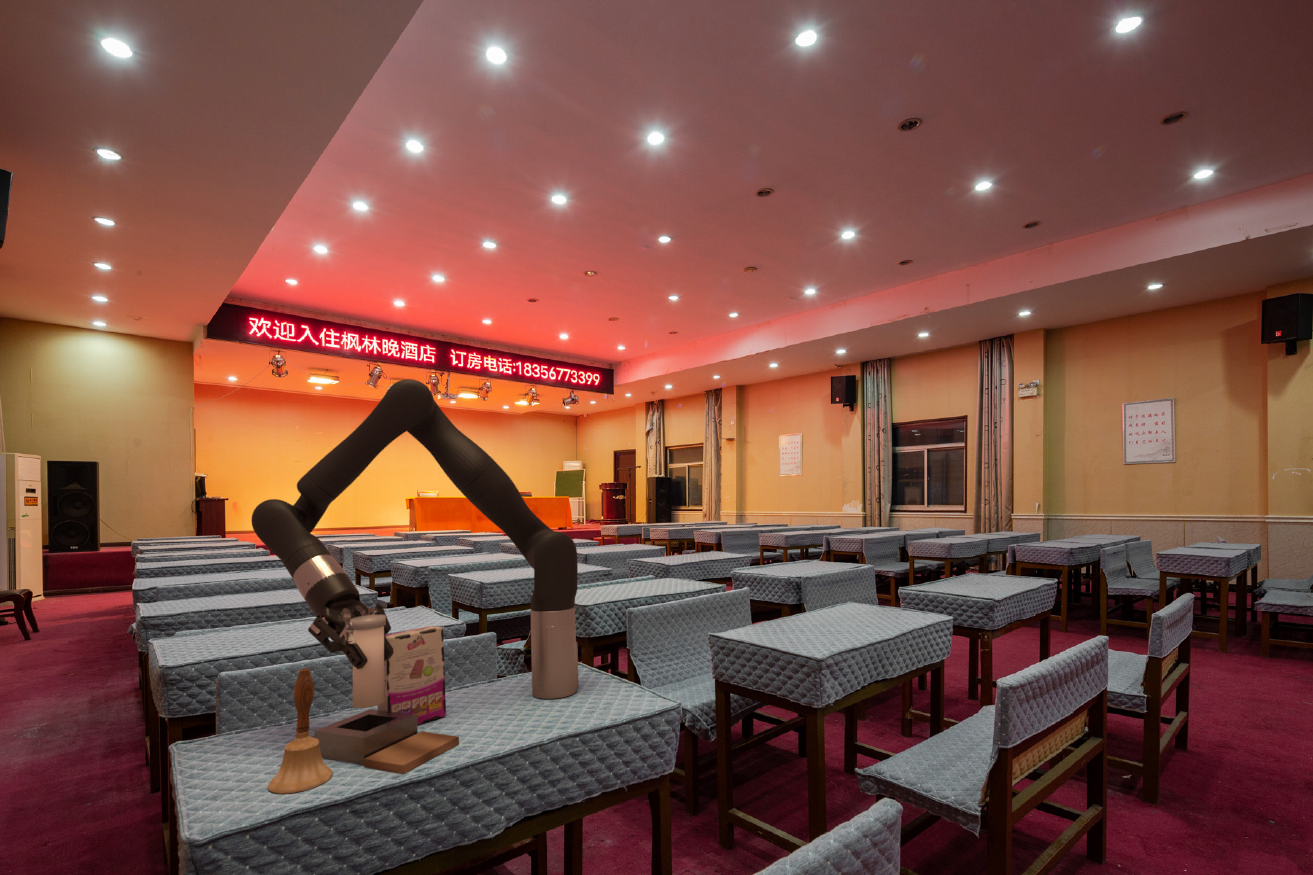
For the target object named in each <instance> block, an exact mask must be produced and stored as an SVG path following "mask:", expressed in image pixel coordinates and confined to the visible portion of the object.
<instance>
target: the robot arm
mask: <svg viewBox="0 0 1313 875" xmlns="http://www.w3.org/2000/svg"><path fill="white" fill-rule="evenodd" d="M406 432H407V433H408V434H410V436H412V438H414V439H415V440H417V442H419V443H420V444H421V446H423V447H424V448H425V449H426V450H427V451H428V452H429V453H430V454H431V456H432V457H433V458H434V460H435V462H437V464H438V465H439V467H440V468H441V470H442V471H443V473H444V474H445V475H446V476H447V478H448V479H449V480H450V481H451V483H452V484H453V485H454V486H455V487H456V488H457V489H458V490H459V491H460V492H461V493H462V495H463V496H464V497H465V498H466V499H467V500H468V501H469V502H470V503H471V504H472V505H473V506H474V507H475V508H476V509H477V510H478V511H479V512H481V514H482V515H484V516H485V517H486V518H487V519H488V520H489V521H491V522H492V523H493V524H494V525H495V526H496V527H498V528H499V529H500V530H501V531H502V532H503V533H504V534H505V535H506V536H507V537H508V538H509V539H510V541H511V542H512V543H513V544H514V546H515V547H516V548H517V549H518V551H519V552H520V553H521V555H522V556H523V558H524V559H525V560H526V561H527V563H528V564H529V566H530V567H531V568H532V569H533V591H532V594H531V596H530V640H531V641H530V642H531V647H530V648H531V689H532V691H531V692H532V693H531V694H532V696H533V697H534V698H538V699H546V700H548V699H549V700H551V699H560V698H566V697H570V696H573V695H574V694H576V692H577V691H578V688H579V657H578V654H579V653H578V651H579V650H578V641H576V640H577V639H576V638H577V637H576V634H577V633H576V597H577V593H578V577H579V576H578V573H579V572H578V571H579V570H578V561H579V560H578V550H577V546H576V543H575V541H574V539H572V537H571V536H570V535H568V534H567V533H564V532H561V531H555V530H553V529H552V528H551V527H549V526H548V525H547V524H546V523H545V522H544V521H543V520H542V519H540V518H539V517H538V516H537V514H535V513H534V511H532V510H531V509H530V507H529V506H528V504H527V503H526V501H525V499H524V498H523V496H522V495H521V493H520V491H519V489H518V488H517V486H516V484H515V483H514V481H513V480H512V478H511V477H510V476H509V475H508V473H507V472H506V471H505V470H504V469H503V468H502V467H501V466H500V465H499V464H498V463H497V461H495V460H494V459H493V457H492V456H491V455H489V454H488V453H487V451H486V450H484V449H483V448H482V447H481V446H479V445H478V444H477V443H476V442H474V441H473V440H472V439H471V438H469V437H468V436H467V435H465V434H464V433H463V432H462V431H460V430H459V429H458V428H457V427H456V426H455V424H453V422H452V421H451V420H450V419H449V417H447V415H446V413H444V412H443V410H442V409H441V407H440V405H438V403H437V402H436V400H435V398H434V395H433V393H432V391H431V390H430V388H429V386H427V385H426V384H425V383H424V382H421V381H419V380H416V379H411V378H410V379H409V378H408V379H406V378H405V379H401V380H398V381H396V382H394V383H393V384H392V385H390V387H389V388H388V389H387V390H386V392H385V394H384V395H383V397H382V398H381V400H380V401H379V402H378V403H377V405H376V406H375V408H374V409H373V410H372V411H371V412H370V414H368V416H366V417H365V418H364V420H363V421H362V422H361V423H359V426H358V427H356V428H355V429H354V430H353V431H352V432H351V433H350V434H349V435H347V437H345V439H343V440H342V441H341V442H340V443H338V445H336V446H335V447H334V448H332V449H331V450H330V451H329V452H328V453H327V454H326V455H324V456H323V457H322V458H321V459H320V460H319V461H317V463H316V464H314V466H313V467H311V468H310V469H309V470H308V471H307V472H306V473H305V474H304V475H302V476H301V478H300V479H299V480H298V481H297V483H296V488H297V491H298V492H299V494H300V495H299V497H298V498H297V500H296V501H295V503H293V504H291V503H289V502H287V501H285V500H282V499H277V498H274V499H273V498H272V499H270V498H269V499H267V500H264V501H261V502H260V503H259V504H257V506H256V507H255V508H254V509H253V511H252V514H251V520H250V521H251V525H252V529H253V532H254V533H255V534H256V536H257V537H258V538H259V540H260V541H261V542H262V543H263V544H264V545H265V546H266V547H267V548H268V549H269V550H270V552H272V553H273V554H274V555H275V556H276V557H277V558H278V559H279V560H280V561H281V563H282V564H283V566H284V567H285V569H286V571H287V573H288V574H289V575H290V577H291V578H292V579H293V581H294V583H295V585H296V588H297V590H298V592H299V593H300V596H302V598H303V600H304V601H305V602H306V604H307V606H308V607H309V609H310V610H311V612H312V614H314V616H315V618H314V620H313V622H312V623H311V624H310V626H309V627H308V629H307V631H308V632H309V634H310V635H312V636H313V637H314V638H315V639H316V640H317V641H318V643H320V644H321V645H322V646H323V647H324V648H325V649H326V650H327V651H328V652H329V653H330V654H334V653H336V652H340V653H342V654H345V656H346V657H347V659H348V660H349V663H350V664H351V666H352V667H353V666H354V667H356V668H357V669H361V668H363V667H364V666H365V664H366V663H367V661H368V660H367V657H366V656H365V654H364V653H363V652H362V650H361V649H360V647H359V646H358V644H357V643H355V644H354V642H355V641H354V637H353V629H351V619H352V618H355V617H360V616H366V615H385V616H386V625H384V661H386V660H389V659H390V658H391V656H392V655H393V653H394V652H393V651H394V650H393V647H392V646H391V645H390V643H389V642H388V640H387V639H386V637H385V636H386V635H388V633H389V632H390V631H391V630H392V627H391V624H390V622H389V619H388V616H387V613H386V612H385V609H384V607H383V605H381V604H377V605H376V606H375V607H368V606H367V605H366V604H365V603H363V602H362V601H361V598H360V592H359V590H358V589H357V588H358V587H356V586H355V584H354V582H353V581H352V580H351V579H350V577H349V575H348V574H347V573H346V572H345V570H344V569H343V567H342V566H341V564H340V563H339V562H338V561H337V560H336V559H335V558H334V557H333V556H332V554H331V553H330V551H329V550H328V548H327V547H326V546H325V544H324V543H323V542H322V540H320V538H318V537H317V536H315V535H314V534H312V532H313V531H314V529H315V528H316V527H317V525H318V523H320V521H321V519H322V518H323V516H324V515H325V513H326V511H327V510H328V508H329V506H330V505H331V503H332V502H333V501H335V500H336V499H337V498H338V497H339V496H340V495H341V494H342V493H343V492H344V491H346V489H347V488H349V487H350V486H351V485H352V484H353V483H354V482H355V481H356V480H357V478H359V477H360V476H361V474H362V473H363V472H364V471H365V470H366V469H367V468H368V467H369V465H370V464H372V462H373V461H374V459H376V457H378V455H379V454H380V453H381V452H383V451H384V449H386V448H387V447H388V446H389V445H390V444H391V443H392V442H393V441H395V440H396V439H398V438H399V437H400V436H402V435H403V434H405V433H406ZM331 640H332V641H331Z"/></svg>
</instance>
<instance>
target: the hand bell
mask: <svg viewBox="0 0 1313 875" xmlns="http://www.w3.org/2000/svg"><path fill="white" fill-rule="evenodd" d="M314 694H315V685H314V681H313V677H312V674H311V669H310V668H308V667H304V668H301V669H299V672H298V676H297V679H296V681H295V684H294V688H293V699H294V700H293V701H294V706H295V709H296V712H297V713H296V714H297V718H296V731H295V732H296V733H295V738H294V739H293V740H291V741H289V742H288V743H287V744H286V745H284V746H285V747H284V751H283V757H282V761H281V765H280V767H279V770H278V771H277V773H276V774H275V776H274V777H273V778H272V779H271V780H270V782H269V784H268V785H267V789H268V791H270V792H271V793H274V794H282V795H284V794H285V795H286V794H294V793H300V792H304V791H308V790H312V789H315V788H317V787H319V786H322V785H323V784H325V783H327V782H329V781H330V780H331V779H332V778H333V775H334V773H333V770H332V769H331V768H330V766H327V765H326V763H325V761H324V758H322V756H321V752H320V744H319V740H318V739H316V738H314V737H312V736H311V735H310V729H311V728H310V709H311V706H312V703H313V700H314Z"/></svg>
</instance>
